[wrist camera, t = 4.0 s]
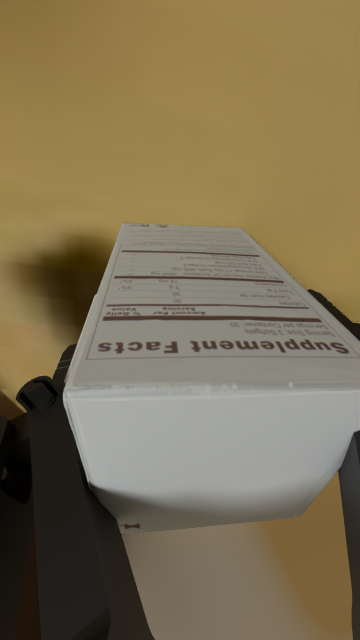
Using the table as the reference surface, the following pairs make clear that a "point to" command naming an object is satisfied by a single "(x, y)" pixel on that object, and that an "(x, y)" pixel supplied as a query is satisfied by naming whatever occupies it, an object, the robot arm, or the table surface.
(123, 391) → the supplement box
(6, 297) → the table surface
